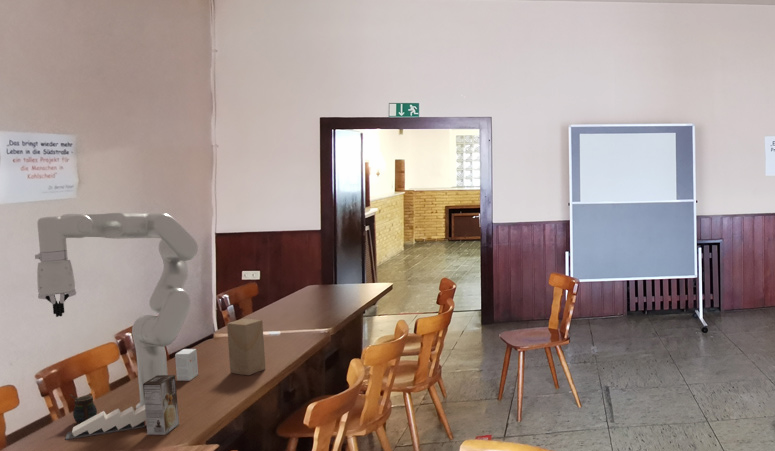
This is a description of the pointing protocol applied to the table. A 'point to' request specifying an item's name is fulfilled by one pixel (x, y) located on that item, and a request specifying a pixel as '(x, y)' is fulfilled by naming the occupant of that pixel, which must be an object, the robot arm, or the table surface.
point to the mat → (100, 431)
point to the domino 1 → (89, 423)
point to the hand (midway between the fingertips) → (59, 315)
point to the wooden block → (246, 346)
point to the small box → (186, 364)
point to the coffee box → (161, 404)
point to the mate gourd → (84, 408)
